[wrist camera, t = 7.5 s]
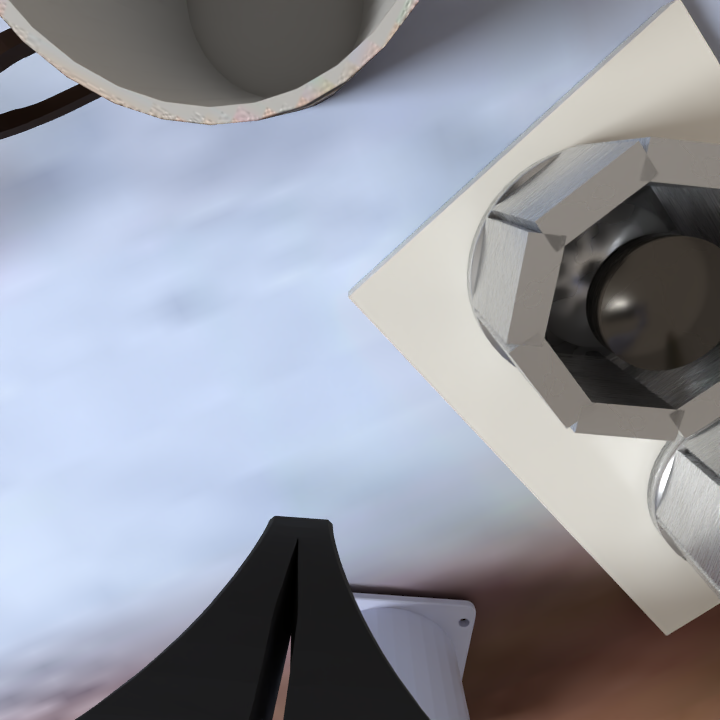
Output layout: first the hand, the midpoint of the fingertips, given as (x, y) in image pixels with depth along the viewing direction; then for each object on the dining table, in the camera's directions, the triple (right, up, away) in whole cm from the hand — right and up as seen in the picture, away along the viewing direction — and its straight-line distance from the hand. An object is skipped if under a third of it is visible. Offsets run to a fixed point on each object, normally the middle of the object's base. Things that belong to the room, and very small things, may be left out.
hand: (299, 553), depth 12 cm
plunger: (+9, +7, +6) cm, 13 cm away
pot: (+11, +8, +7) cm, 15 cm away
